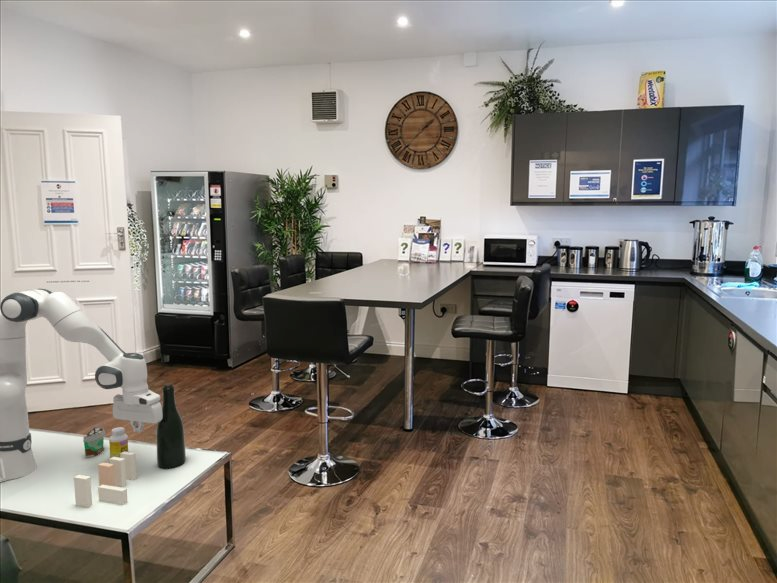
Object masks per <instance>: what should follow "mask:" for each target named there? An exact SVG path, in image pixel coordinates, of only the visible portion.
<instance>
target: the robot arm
mask: <svg viewBox="0 0 777 583" xmlns="http://www.w3.org/2000/svg"><path fill="white" fill-rule="evenodd" d="M39 318H45V319H46V321H48V322H49V324H50V325H51V326H52V327H53V329H54V330H55V331H56V333H58V335H59V336H60V337H62V338H63V340H65V341H68V342H71V343H83V344H87V345H91V346H92V347H94V348H96V349H97V351H99V353H100V354H101V355H103V357H104V358H105V359H106V360H107V361H108V362H106V363H103V364H102V365H100V366H99V367H98V368H96V370H95V373H94V380H95V382H96V384H97V385H98V386H99V387H100V388H102V389H104V390H113V389H114V390H115V389H118V388H121V390H122V394H119V393H118V394H116V395H114V396H113V403H112V418H114V420H123V421H130V422H129V423H130V425H131V426H132V428H133V430H132V431H133V432H134V433H142V432H143V431H144V426H145V424H146V423H147V424H155V425H157V423H158V422H160V421H161V420H162V418H163V414H162V406H163V405H162V404H161V402H160V401H161V395H160V394H159V393H156V392H154V391H152V389H151V390H150V389H149V385H148V382H147V379H148V367H147V362H146V359H145V357H144V355H142V354H140V353H137V352H126V351H124V350H123V349H122V348H121V347H120V346H119V345H118V344H117V343H116V342H115V341H114V339H112V338H111V337H110V335H108V333H107V332H106V331H104V329H102V328H101V327H100V326H98V325H97V324H96V323H95V322H93V321H92V320H91V319H90V318H89V317H88V316H87V315H86V314H85V312H84V311H83V310H82V309H81V307H79V305H78V304H77V303H76V301H74V300H73V299H72V298H71V297H70V296H69V295H67V294H66V293H65V292H63V291H54V292H52V291H51V290H49V289H46V288H36V289H26V290H22V291H19V292H13V293H11V294H8V295H6V296H5V297H4V298H3V299H2V300H1V302H0V483H2V482H5V481H11V480H16V479H20V478H22V477H26V476H28V475H30V474H32V473H34V472H35V471H36V470H37V467H38V466H37V464H36V461H35V458H34V454H33V450H32V433H31V432H30V423H29V421H30V420H29V412H28V407H27V399H26V388H27V385H28V375H27V373H28V372H27V371H28V370H27V357H26V356H27V354H26V352H27V350H26V349H27V348H26V347H27V346H26V344H27V343H26V342H27V341H26V340H27V336H26V335H27V334H26V326H27V323H28V321H33V320H36V319H39Z"/></svg>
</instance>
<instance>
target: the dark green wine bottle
mask: <svg viewBox="0 0 777 583" xmlns="http://www.w3.org/2000/svg"><path fill="white" fill-rule="evenodd" d="M175 392H176V391H175V386H174V384H173V383H172V382H166V383H164V384H163V387H162V405H161V406H162V414H163V418H162V420H161V421H160V422H158V423H156V436H155V437H156V463H157V468H159V469H161V470H172V469H173V470H174V469H176V468H179V467H182V466H183V465H185V463H186V462H187V458H186V441H185V427H184V422H183V419H182V417H181V415H180V413H179V411H178V408H177V403H176V398H175V397H176V395H175Z"/></svg>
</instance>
